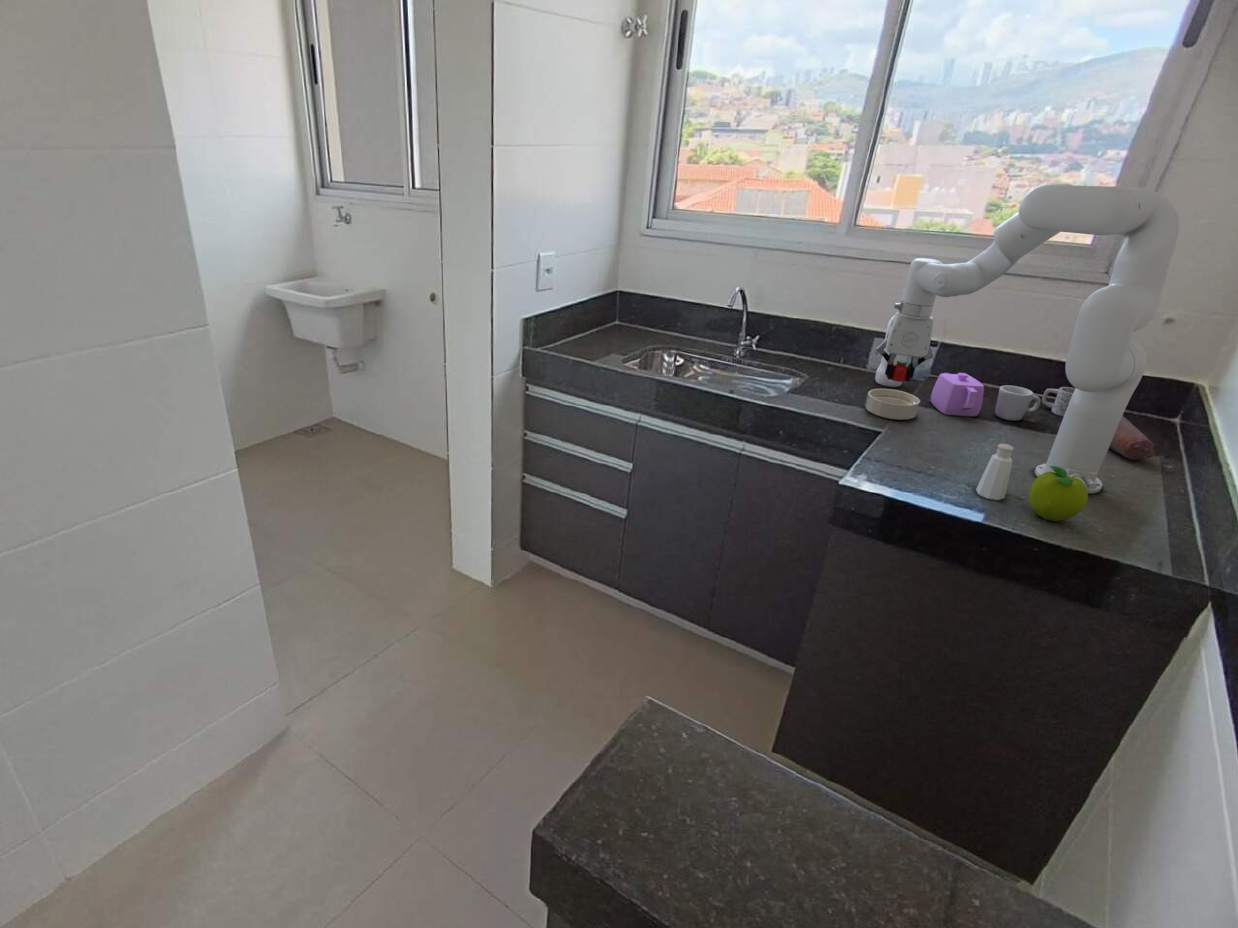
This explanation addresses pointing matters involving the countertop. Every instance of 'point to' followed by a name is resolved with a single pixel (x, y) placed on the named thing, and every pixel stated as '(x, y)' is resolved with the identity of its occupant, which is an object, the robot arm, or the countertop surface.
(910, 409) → the bowl
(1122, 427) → the food
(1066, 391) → the mug
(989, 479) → the pepper shaker
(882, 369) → the bottle
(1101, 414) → the robot arm
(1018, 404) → the cup
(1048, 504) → the fruit
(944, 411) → the teapot
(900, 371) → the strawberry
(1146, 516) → the countertop surface
